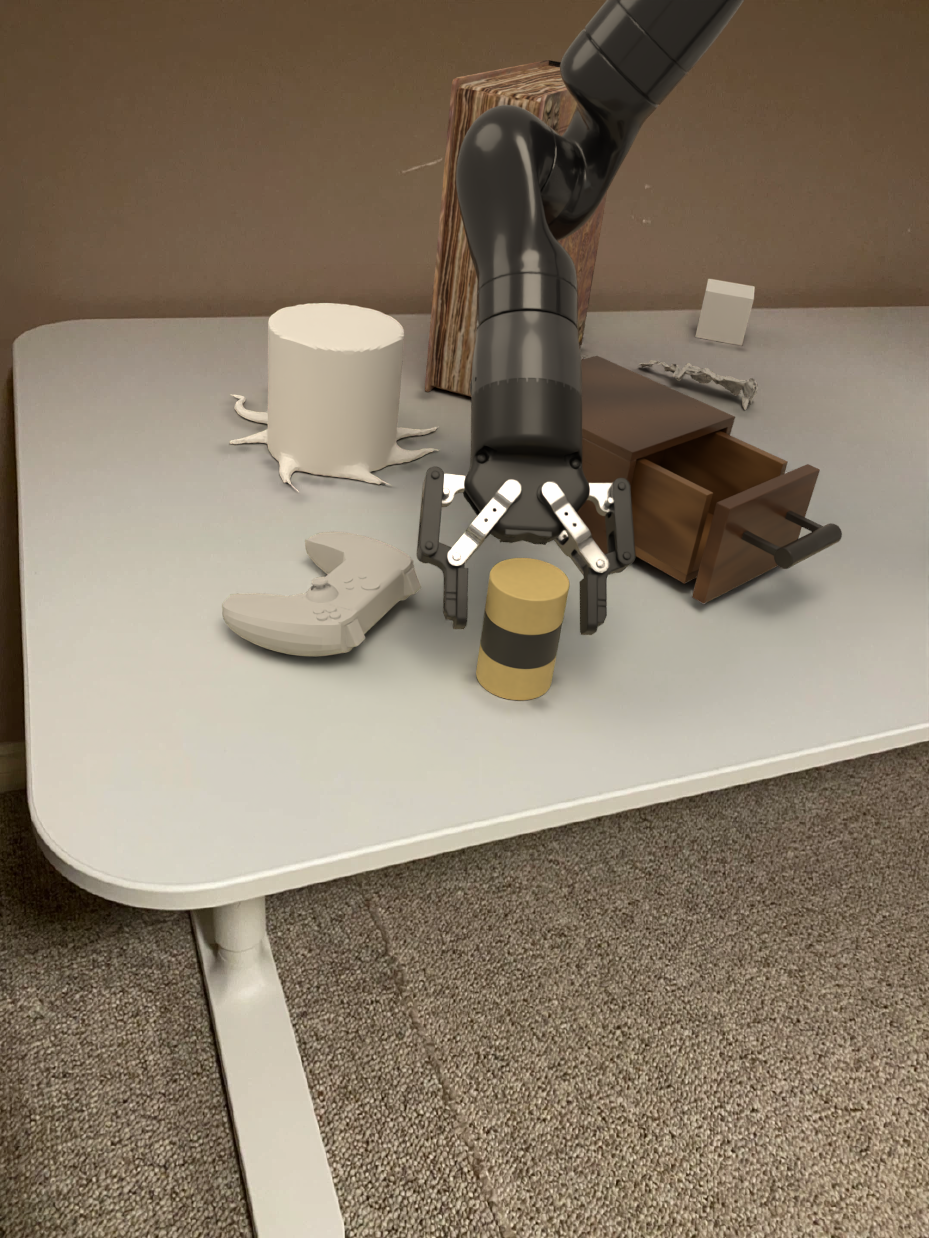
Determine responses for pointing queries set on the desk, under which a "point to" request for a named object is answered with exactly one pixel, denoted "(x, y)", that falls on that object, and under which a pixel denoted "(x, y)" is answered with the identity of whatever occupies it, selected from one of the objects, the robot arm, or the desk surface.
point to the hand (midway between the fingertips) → (525, 630)
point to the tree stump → (333, 392)
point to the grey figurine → (708, 376)
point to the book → (454, 267)
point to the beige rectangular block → (725, 312)
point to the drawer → (723, 513)
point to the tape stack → (521, 628)
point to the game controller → (328, 598)
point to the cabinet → (632, 426)
